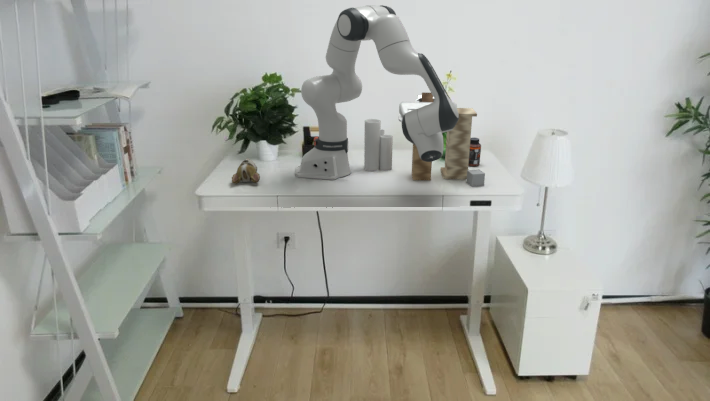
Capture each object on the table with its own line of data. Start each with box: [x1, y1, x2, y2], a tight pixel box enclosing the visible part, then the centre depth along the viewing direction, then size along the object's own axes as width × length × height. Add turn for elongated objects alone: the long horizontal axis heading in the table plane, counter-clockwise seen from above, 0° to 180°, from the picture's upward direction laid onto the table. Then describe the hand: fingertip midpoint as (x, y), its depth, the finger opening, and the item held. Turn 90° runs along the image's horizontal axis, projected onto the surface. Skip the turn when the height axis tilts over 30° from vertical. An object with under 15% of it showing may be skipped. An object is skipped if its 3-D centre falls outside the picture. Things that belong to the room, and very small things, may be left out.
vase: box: [363, 118, 394, 172], centre depth 224 cm, size 11×7×20 cm, turn 97°
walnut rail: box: [421, 92, 433, 102], centre depth 205 cm, size 4×20×4 cm, turn 178°
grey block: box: [465, 168, 486, 188], centre depth 209 cm, size 5×5×5 cm
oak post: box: [411, 144, 433, 181], centre depth 214 cm, size 7×7×16 cm
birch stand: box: [439, 107, 478, 180], centre depth 215 cm, size 11×10×26 cm
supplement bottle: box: [468, 137, 482, 167], centre depth 230 cm, size 6×6×11 cm
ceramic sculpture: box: [231, 157, 261, 184], centre depth 212 cm, size 11×9×15 cm
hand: (426, 96), depth 199 cm, fingers closed on walnut rail, 4 cm apart
